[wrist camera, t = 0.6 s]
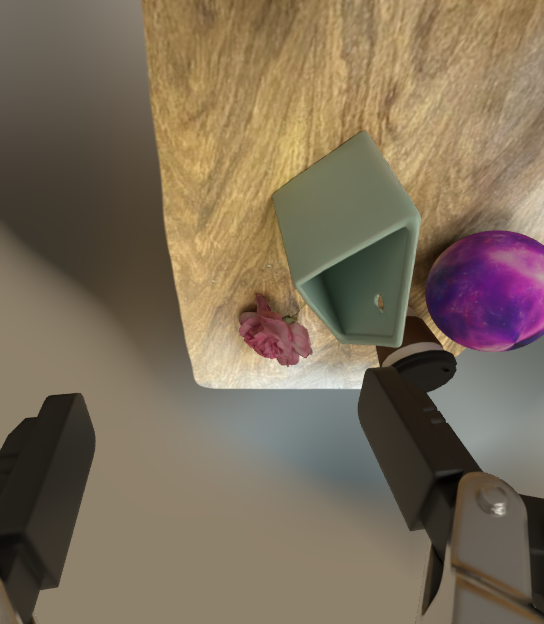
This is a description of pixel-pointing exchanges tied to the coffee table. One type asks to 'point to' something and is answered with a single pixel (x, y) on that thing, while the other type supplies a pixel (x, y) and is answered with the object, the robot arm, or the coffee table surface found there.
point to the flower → (274, 334)
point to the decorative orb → (489, 291)
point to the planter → (351, 242)
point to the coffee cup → (419, 356)
